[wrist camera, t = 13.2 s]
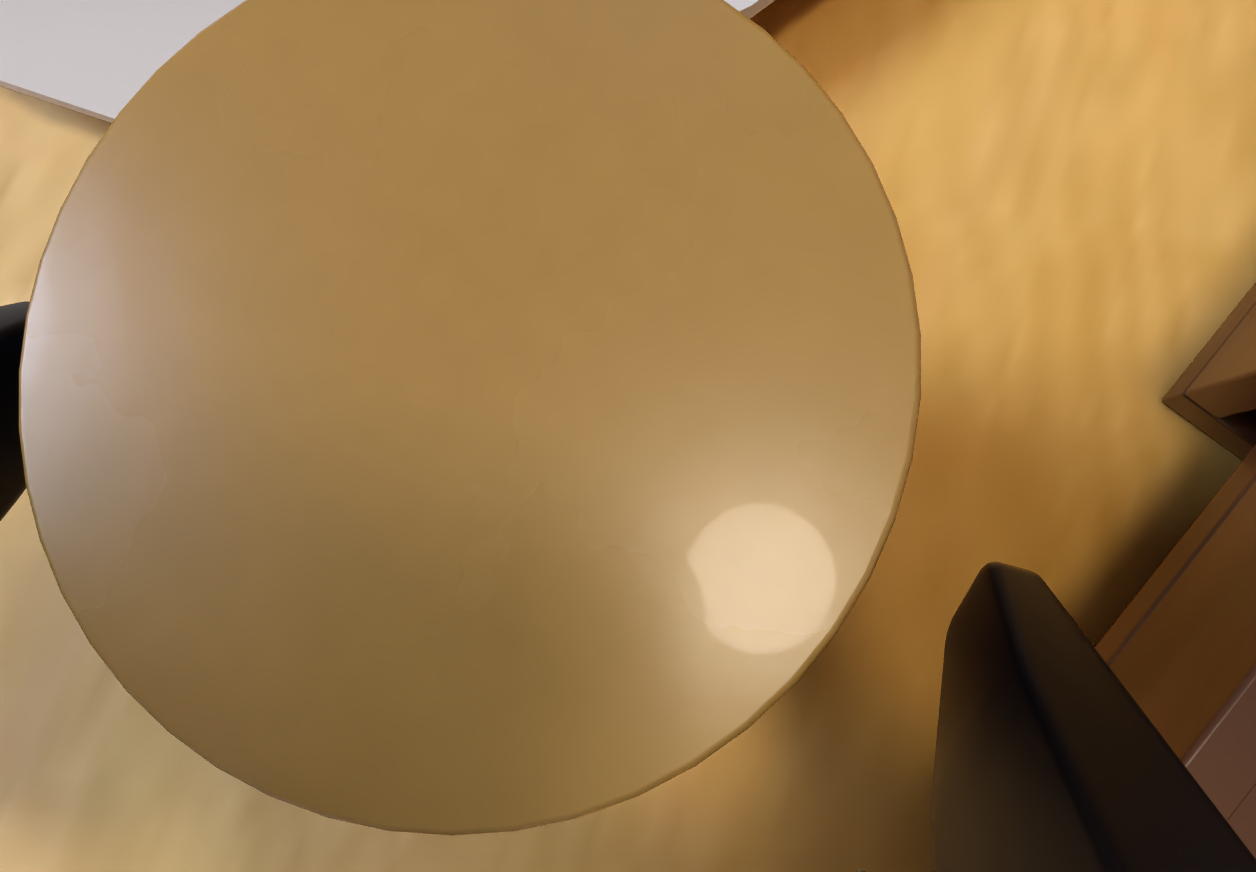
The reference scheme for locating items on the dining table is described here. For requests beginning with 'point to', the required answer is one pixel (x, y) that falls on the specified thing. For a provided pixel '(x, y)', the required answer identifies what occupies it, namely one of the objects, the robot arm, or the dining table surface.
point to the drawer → (1202, 650)
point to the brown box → (1223, 382)
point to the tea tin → (469, 398)
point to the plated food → (112, 46)
